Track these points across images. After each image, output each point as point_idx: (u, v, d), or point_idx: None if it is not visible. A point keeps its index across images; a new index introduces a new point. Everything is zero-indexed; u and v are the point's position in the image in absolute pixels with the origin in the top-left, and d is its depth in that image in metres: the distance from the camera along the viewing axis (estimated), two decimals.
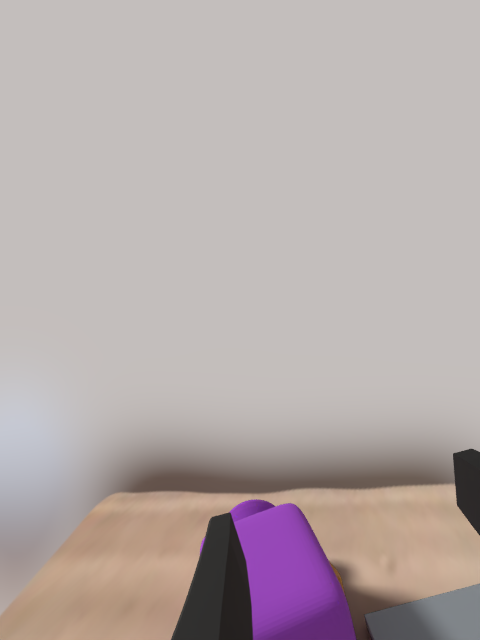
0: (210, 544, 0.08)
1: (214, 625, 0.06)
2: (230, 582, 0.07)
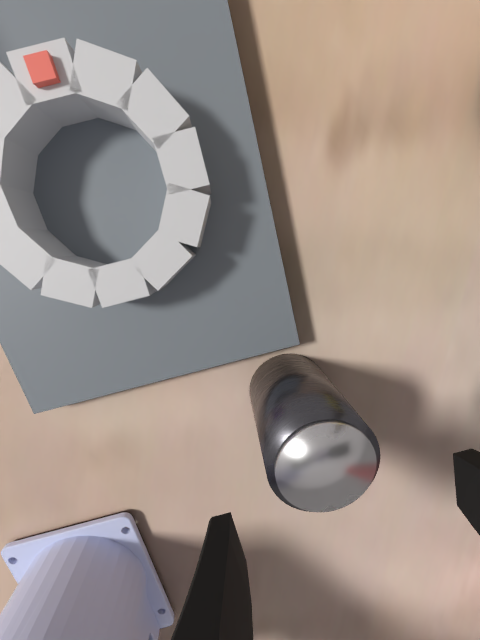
0: (210, 544, 0.08)
1: (214, 625, 0.06)
2: (230, 582, 0.07)
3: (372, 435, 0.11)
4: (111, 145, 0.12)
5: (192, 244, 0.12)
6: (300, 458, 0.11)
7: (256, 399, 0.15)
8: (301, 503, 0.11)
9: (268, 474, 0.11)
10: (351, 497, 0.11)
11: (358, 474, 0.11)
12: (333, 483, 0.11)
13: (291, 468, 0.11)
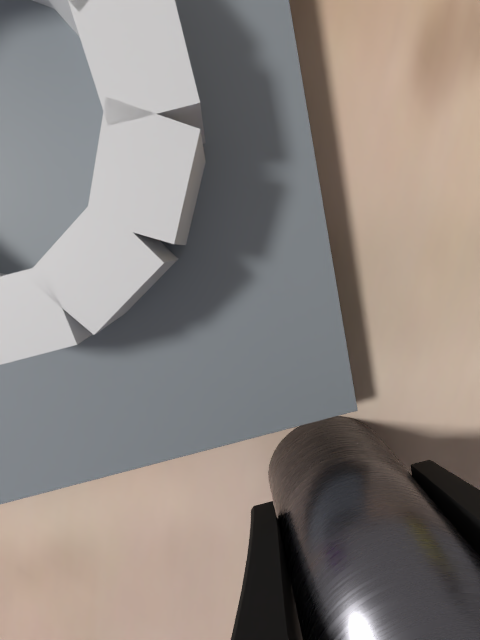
0: (258, 531, 0.08)
1: (278, 608, 0.06)
2: (283, 568, 0.07)
3: None
4: (5, 40, 0.06)
5: (163, 238, 0.05)
6: None
7: (285, 511, 0.08)
8: None
9: None
10: None
11: None
12: None
13: None
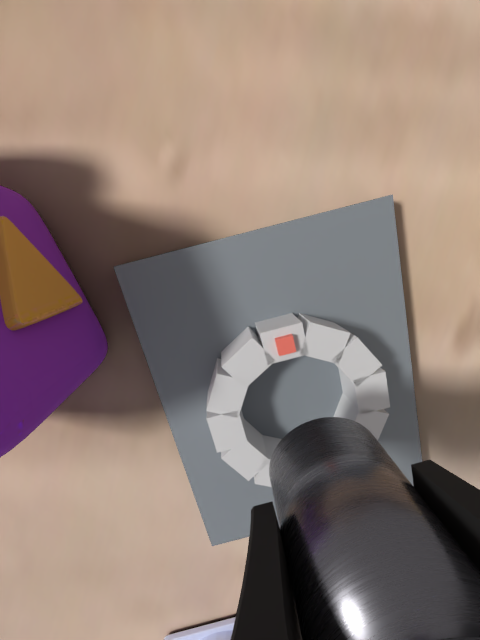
0: (258, 531, 0.08)
1: (277, 608, 0.06)
2: (282, 568, 0.07)
3: None
4: (300, 360, 0.16)
5: None
6: None
7: (281, 514, 0.09)
8: None
9: None
10: None
11: None
12: None
13: None
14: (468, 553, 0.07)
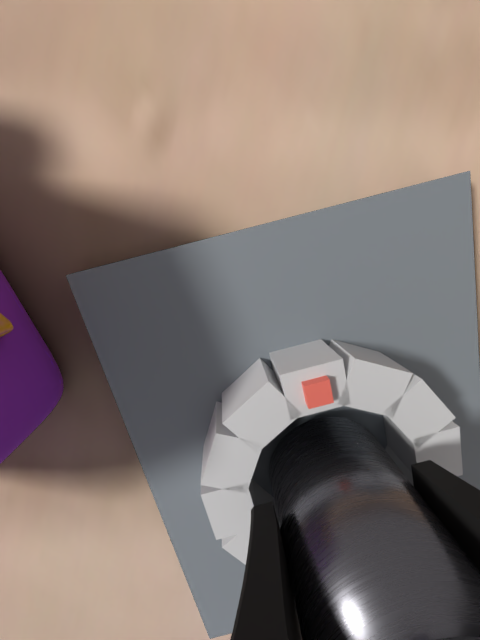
0: (258, 531, 0.08)
1: (277, 608, 0.06)
2: (282, 568, 0.07)
3: None
4: None
5: None
6: None
7: (281, 514, 0.09)
8: None
9: None
10: None
11: None
12: None
13: None
14: (468, 553, 0.07)
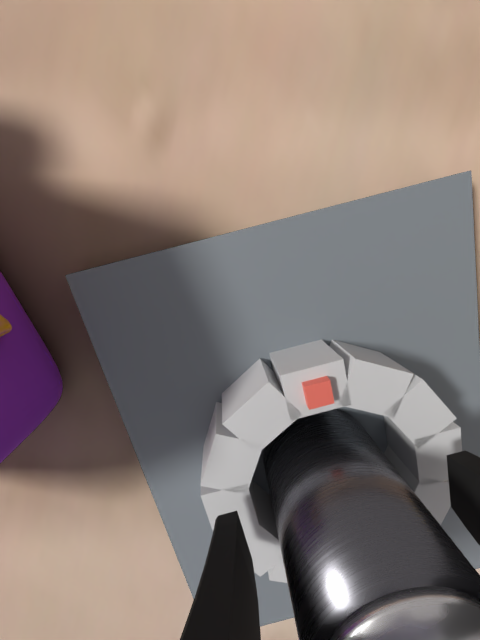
0: (217, 542, 0.08)
1: (224, 622, 0.06)
2: (238, 580, 0.07)
3: None
4: None
5: None
6: None
7: (274, 495, 0.10)
8: None
9: None
10: None
11: None
12: None
13: None
14: None
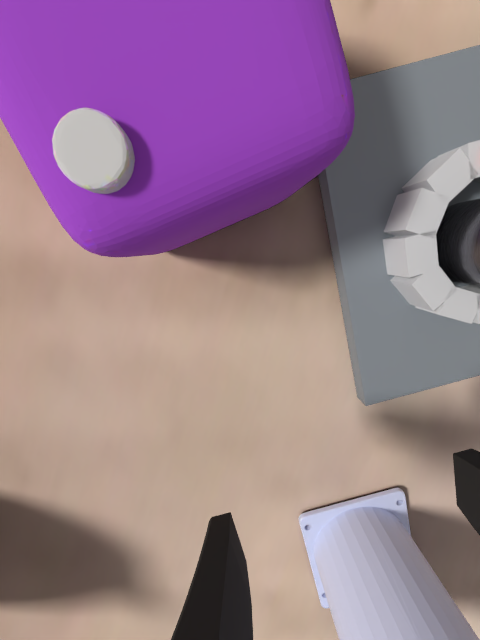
0: (210, 544, 0.08)
1: (214, 625, 0.06)
2: (230, 582, 0.07)
3: None
4: None
5: None
6: None
7: (453, 236, 0.14)
8: None
9: None
10: None
11: None
12: None
13: None
14: None
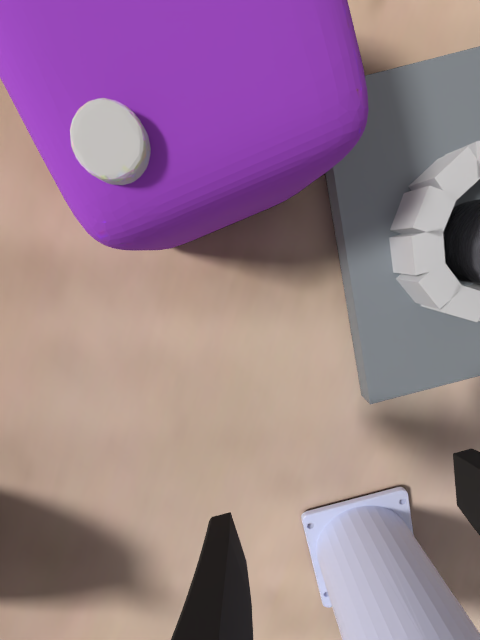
0: (210, 544, 0.08)
1: (214, 625, 0.06)
2: (230, 582, 0.07)
3: None
4: None
5: None
6: None
7: (465, 239, 0.14)
8: None
9: None
10: None
11: None
12: None
13: None
14: None
